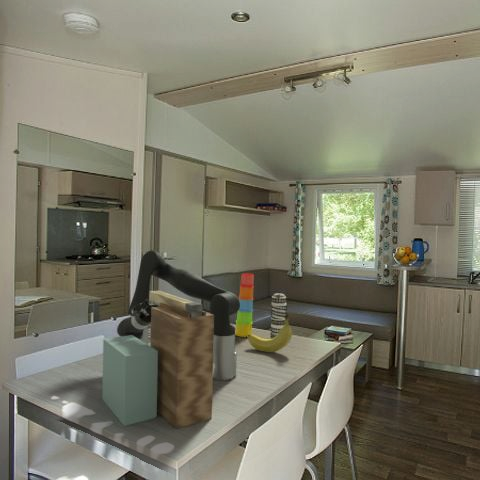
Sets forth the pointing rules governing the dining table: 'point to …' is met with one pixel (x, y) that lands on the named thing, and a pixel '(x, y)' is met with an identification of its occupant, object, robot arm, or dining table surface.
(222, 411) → the dining table surface
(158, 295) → the pale wooden beam
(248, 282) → the stacking cups
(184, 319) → the tall wooden block
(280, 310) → the decorative candle
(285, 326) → the banana
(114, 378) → the pale teal block
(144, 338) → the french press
